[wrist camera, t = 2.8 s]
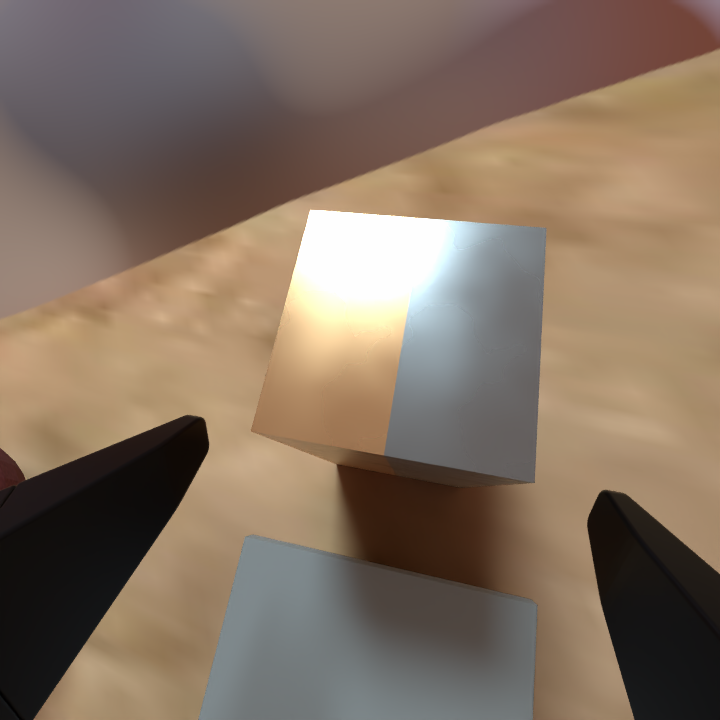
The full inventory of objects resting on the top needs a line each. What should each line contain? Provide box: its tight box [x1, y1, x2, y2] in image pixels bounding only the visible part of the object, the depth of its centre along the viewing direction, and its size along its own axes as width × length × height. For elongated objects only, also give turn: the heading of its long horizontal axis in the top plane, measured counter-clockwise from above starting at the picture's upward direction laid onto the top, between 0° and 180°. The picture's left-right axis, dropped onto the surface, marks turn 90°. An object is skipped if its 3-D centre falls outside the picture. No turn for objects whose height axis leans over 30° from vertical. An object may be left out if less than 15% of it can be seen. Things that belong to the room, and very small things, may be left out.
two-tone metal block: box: [251, 210, 546, 488], centre depth 14 cm, size 6×6×11 cm
